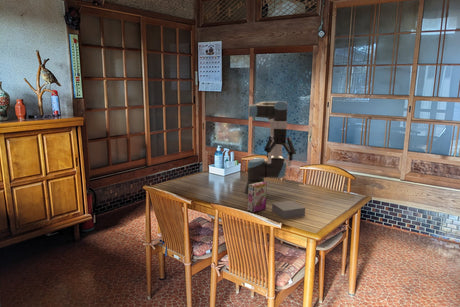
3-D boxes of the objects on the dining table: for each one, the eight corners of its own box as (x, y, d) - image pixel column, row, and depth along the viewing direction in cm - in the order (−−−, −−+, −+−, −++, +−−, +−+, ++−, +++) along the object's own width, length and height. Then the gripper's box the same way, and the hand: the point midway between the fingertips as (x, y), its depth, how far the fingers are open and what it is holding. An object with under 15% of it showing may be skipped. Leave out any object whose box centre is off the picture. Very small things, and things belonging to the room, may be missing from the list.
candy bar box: (252, 213, 206) (253, 186, 203) (247, 210, 210) (247, 184, 207) (266, 209, 213) (267, 182, 210) (260, 206, 217) (261, 181, 214)
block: (271, 210, 211) (272, 203, 210) (292, 208, 215) (292, 200, 214) (283, 219, 198) (283, 210, 197) (304, 216, 203) (305, 207, 202)
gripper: (258, 127, 207) (258, 163, 210) (295, 129, 191) (294, 168, 194) (266, 127, 213) (265, 161, 216) (302, 129, 197) (301, 166, 199)
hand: (279, 164), depth 205 cm, fingers open, 13 cm apart
